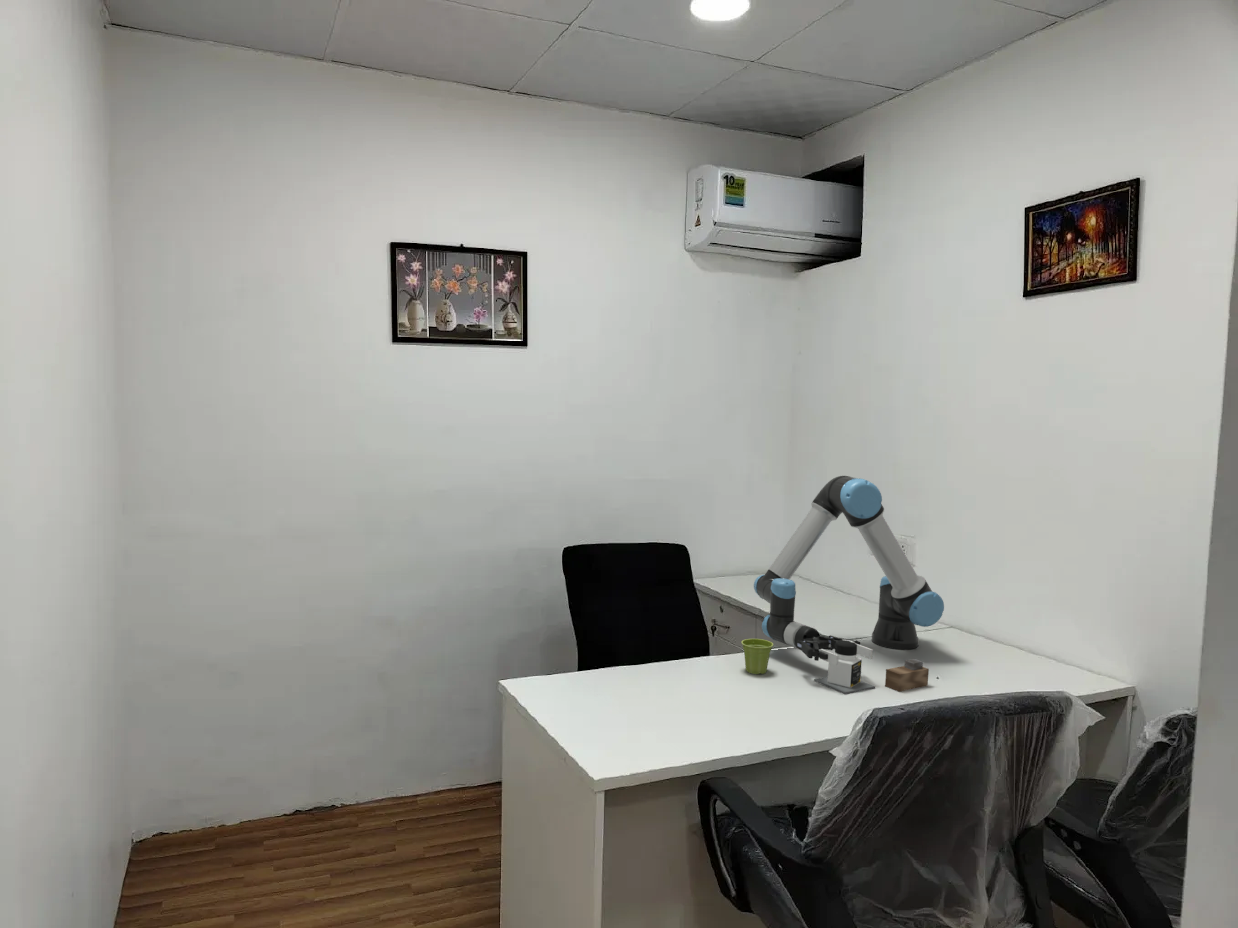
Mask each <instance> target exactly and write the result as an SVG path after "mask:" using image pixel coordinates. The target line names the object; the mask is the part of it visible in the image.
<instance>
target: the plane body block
mask: <svg viewBox="0 0 1238 928" xmlns="http://www.w3.org/2000/svg"><path fill="white" fill-rule="evenodd" d="M929 671H930V670H929V668H928V667H924V661H921V660H919V659H916V658H911V659H907V660H904V665H901V666H896V667H891V668H886V669H885V681H884V684H885V685H884V687H885V688H889V689H891V690H894V691H896V692H899V693H901V692H904V691H910V690H913V689H919V688H923V687H928V686H929V685H928V684H929Z"/></svg>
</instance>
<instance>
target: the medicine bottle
mask: <svg viewBox="0 0 1238 928" xmlns="http://www.w3.org/2000/svg"><path fill="white" fill-rule="evenodd" d="M850 640H851V639H848V640H839V641H836V643H835V649H834V654H837V655H839V661H838V665H835V664H832V663H830V662H828V663H827V664H828V669H827V677H828V683H832V684H836V685H840V686H844V687H848V688H851V687H853V686H855V685H856V684H858V683H860V680H861V678H862V676H861V675H862V662H863V661H862V658H861V657H857V655H858V654H857V644H856V643H855V642H853V641H850Z"/></svg>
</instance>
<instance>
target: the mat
mask: <svg viewBox="0 0 1238 928" xmlns="http://www.w3.org/2000/svg"><path fill="white" fill-rule="evenodd" d="M813 682H815V683H817V684H820V685H822V686H824V687H826V688H828V689H830V690H833V691H836V692H838V693H840V694H842V695H849V694H853V693H858V692H863V691H868V690H869V691H870V690H873V689H874V690H875V689H876V685H874V684H870V683H868V682H866V681H864V680H861V679H860V683H858V684H856V685H855V686H853V687H851V688H848V687H844V686H840V685H836V684H832V683H828V676H823V677H818V678H814V679H813Z"/></svg>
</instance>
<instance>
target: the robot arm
mask: <svg viewBox="0 0 1238 928" xmlns="http://www.w3.org/2000/svg"><path fill="white" fill-rule="evenodd" d="M882 502H883V496H882V493H881V491H880V489H879V487H878V486H877V485H875V484H874V483H873V482H871V481H869V480H867V479H865V478H861V477H860V478H857V477H852V476H849V475H848V476H847V475H840V476H836V477H834V478H832V479H830V480H829V481H828V482H827V483H826V484H825V485H824V486H823V487H822V488H821V489H820V491H819V492H818V493H817V495H816V496H815V497H814V499H813V500H812V501H811V508H810V510H809V511H808V513H807V514H806V516H805V517H804V518H803V520H802V521H801V523H800V524H799V525H798V527H797V528H796V530H795V531H794V533H793V534H792V535H791V536H790V538H789V539H788V541H787V542H786V544H785V545H784V547H782V550H781V551H780V553H779V554H778V555H777V557H776V558H775V559H774V561H773V562H772V564H771V565H770V567H769V568H768V570H767V571H766V572H765V573H764V574H760V575H759V576H757V577H756V578H755V580H754V582H753V589H754V592H755V593H756V595H757V596H758V597H759V598H760V599H762V600H764V601H765V602H767V603H769V604H770V605H769V614H767V615H766V616H765V617H764V618H763V621H762V622H761V631H762V632H763V635H765V636H766V637H768V638H770V639H772V640H773V641H776V642H779V643H783V644H786V645H787V646H790V647H792V648H793V649H794V650H800V651H801V652H802V653H803V654H804V655H805V656H806V657H807V658H808V659H813V658H814V659H813V660H814V661H816V662H819V660H823V661H825V662H827V663H829V662H830V663H832V664H835V665H838V661H839V655H837V654H835V652H834V653H833V652H831V651H833V650H835V643H836V641H839V640H850V641H853V642H855V643H856V644H857V655H859V656H861V657H864V658H866V659H869V660H873V653H874V649H873V648H869V647H867V646H864V645H861V641H858V640H857V639H856V640H853V639H849V638H843V637H837V636H834V635H828V636H825V635H821V633H819V631H818V629H816V628H814V627H811V626H808V625H806V624H803V623H800V622H797V621H795V606H796V605H795V604H796V596H797V591H796V582H795V581H794V580H792V579H791V578H792V577H793V576H794V574H795V573H796V571H797V570H798V569H799V567H800V566H801V565H802V562H803V561H804V560H805V558H806V557H807V556H808V554H809V553H810V552H811V551H812V549H813V547H814V546H815V545H816V543H817V542H818V540H819V539H820V537H821V536H822V535H823V533H824V532H825V530H826V529H827V528H828V526H829V525H830V524H831V523H832V521H836V520H837V519H838V518H839V517H840V515H841V514H843V515H844V518H846V520H847V522H848V524H849V526H850V527H851V528H854V529H857V530H858V531H859V533H860V534H861V536H862V539H864V541H865V543H866V545H867V547H868V548H869V549H870V552H871V553H872V555H873V556H874V559H875V560H876V561H877V564H878V565H879V567H880V568H881V570H882V571H883V574H884V575H885V576H883V577H881V578H880V583H879V584H880V585H879V597H878V598H879V599H878V600H879V601H878V602H879V603H878V615H877V616H878V618H877V621H876V624H874V625H875V626H874V628H873V631H872V633H871V642H872V643H874V644H875V645H878V646H881V647H885V648H889V649H896V650H913V649H916V648H918V647H919V640H920V639H919V637H918V633H917V630H916V626H919V627H923V628H928V627H931V626H934V625H935V624H936V623H938V622H939V620H940V619H941V618H942V617H943V613H944V610H945V604H944V599H943V598H942V597H941V596H940V594H938V593H937V592H936V591H933V590H932V589H931V587H930V585H929V583H928V582H927V580H926V578H925V577H924V576H922V575H918V574H917V572H916V571H915V569H914V567H913V566H912V564H911V562H910V560H909V559H908V557H907V556H906V554H905V552H904V550H903V549H902V547H901V545H900V543H899V541H898V540H897V538H896V536H895V535H894V533H893V531H892V529H891V528H890V526H889V525H888V522H887V521H886V519H885V517H884V512H885V508H884V506H883V504H882Z"/></svg>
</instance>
